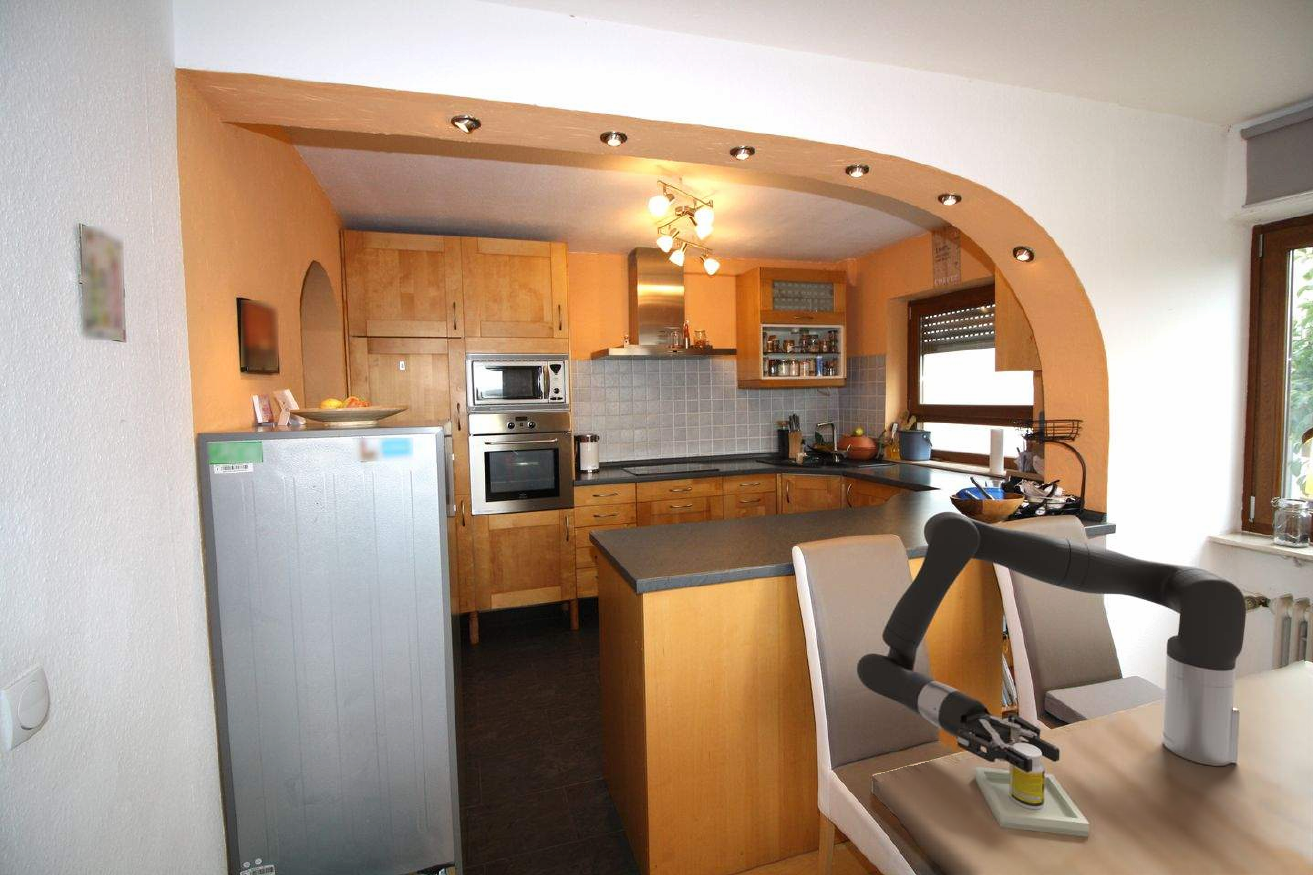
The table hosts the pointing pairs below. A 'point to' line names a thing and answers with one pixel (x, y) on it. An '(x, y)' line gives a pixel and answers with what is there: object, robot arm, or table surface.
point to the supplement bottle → (1028, 779)
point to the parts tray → (1050, 818)
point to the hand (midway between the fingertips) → (1044, 760)
